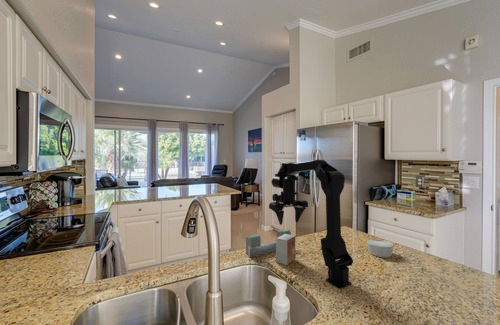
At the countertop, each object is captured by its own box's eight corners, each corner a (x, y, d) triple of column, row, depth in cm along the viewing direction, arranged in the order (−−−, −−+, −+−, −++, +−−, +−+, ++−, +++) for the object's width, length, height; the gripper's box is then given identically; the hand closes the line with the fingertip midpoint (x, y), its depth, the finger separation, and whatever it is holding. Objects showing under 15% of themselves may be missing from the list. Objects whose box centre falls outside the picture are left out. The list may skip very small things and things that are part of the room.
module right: (290, 248, 118) (290, 230, 118) (282, 249, 116) (282, 231, 116) (284, 244, 123) (284, 227, 123) (276, 246, 120) (276, 229, 120)
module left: (260, 254, 110) (260, 235, 109) (251, 256, 107) (251, 237, 107) (255, 251, 114) (255, 232, 114) (245, 253, 111) (245, 234, 111)
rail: (292, 248, 117) (293, 239, 117) (250, 258, 106) (251, 247, 106) (289, 246, 120) (289, 237, 120) (247, 255, 108) (247, 245, 108)
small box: (287, 265, 98) (287, 240, 98) (275, 262, 102) (275, 237, 102) (295, 259, 105) (295, 235, 105) (284, 256, 108) (284, 233, 108)
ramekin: (386, 249, 117) (386, 239, 116) (398, 259, 105) (398, 247, 105) (363, 248, 118) (363, 238, 118) (372, 258, 107) (372, 246, 106)
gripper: (293, 186, 121) (293, 217, 121) (262, 188, 111) (262, 221, 112) (309, 189, 111) (308, 222, 111) (276, 191, 102) (276, 227, 102)
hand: (288, 223), depth 109 cm, fingers open, 9 cm apart
